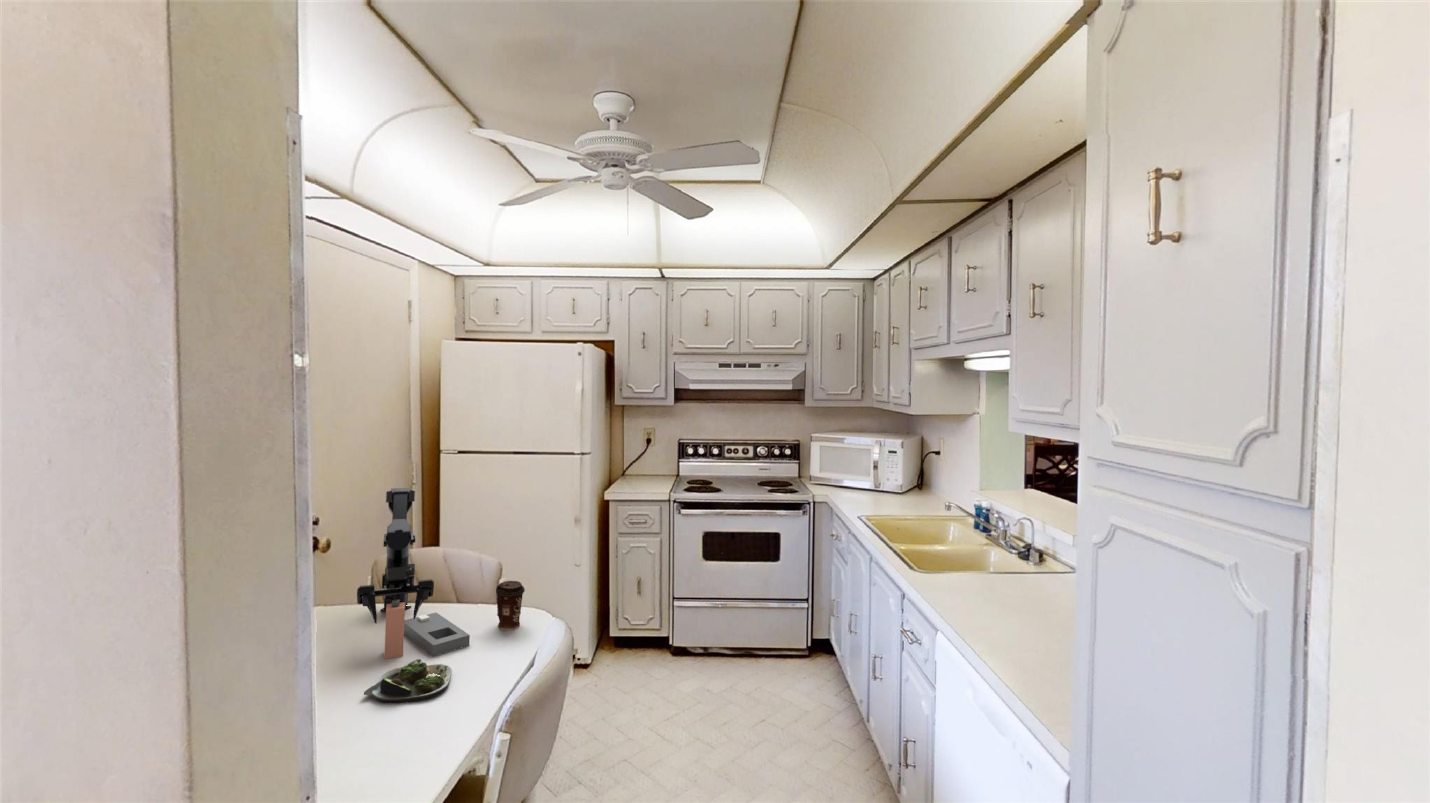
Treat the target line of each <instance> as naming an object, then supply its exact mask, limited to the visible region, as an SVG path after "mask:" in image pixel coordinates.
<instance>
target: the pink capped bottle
mask: <svg viewBox="0 0 1430 803" xmlns="http://www.w3.org/2000/svg"><path fill="white" fill-rule="evenodd" d="M405 611H406V610H405V602H403V603H400V600H399V599H396V600H393V601H392V604H387V606H386V612H385V625H384V626H385V629H384V632H385V633H384V654H383V656H384V657H383V659H393V658H398V657H399V658H401V657H404V643H405V642H404V640H405V634H404V620H406V619H405V616H406V614H405V613H406V612H405Z"/></svg>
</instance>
